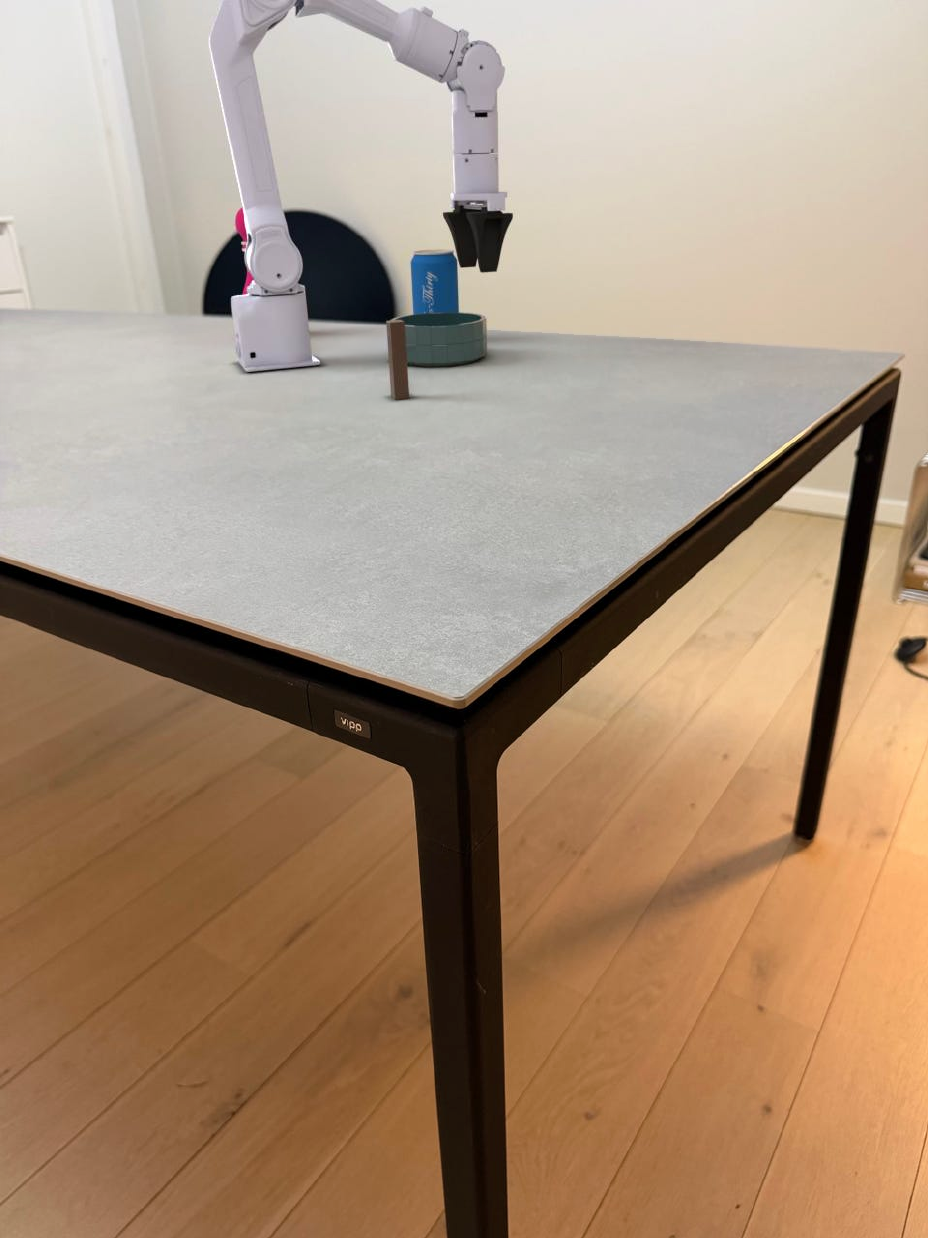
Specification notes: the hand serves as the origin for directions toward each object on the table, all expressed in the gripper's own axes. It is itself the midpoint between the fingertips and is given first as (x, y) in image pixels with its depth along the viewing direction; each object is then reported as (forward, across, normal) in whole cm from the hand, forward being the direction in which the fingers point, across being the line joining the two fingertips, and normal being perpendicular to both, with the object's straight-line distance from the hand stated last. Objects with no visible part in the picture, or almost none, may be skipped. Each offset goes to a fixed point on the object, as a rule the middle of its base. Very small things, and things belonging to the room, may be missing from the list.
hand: (477, 269), depth 121 cm
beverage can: (+10, +8, +4) cm, 13 cm away
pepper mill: (+10, +26, +24) cm, 37 cm away
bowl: (+10, -5, +8) cm, 14 cm away
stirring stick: (+10, -24, +18) cm, 32 cm away
